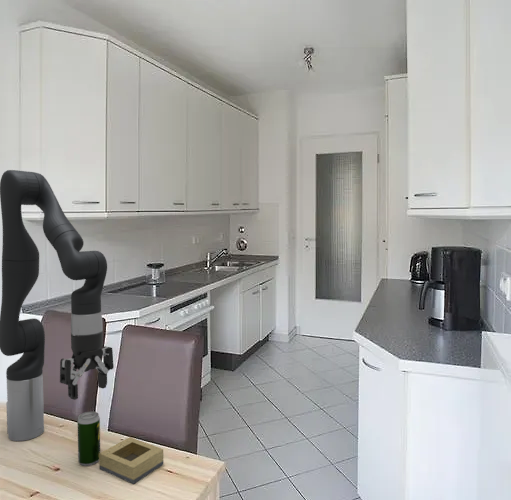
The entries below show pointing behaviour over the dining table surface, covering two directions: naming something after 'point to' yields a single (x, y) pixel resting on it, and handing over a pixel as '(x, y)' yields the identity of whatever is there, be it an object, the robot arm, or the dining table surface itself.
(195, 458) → the dining table surface
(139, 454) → the socket block
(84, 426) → the beer can
